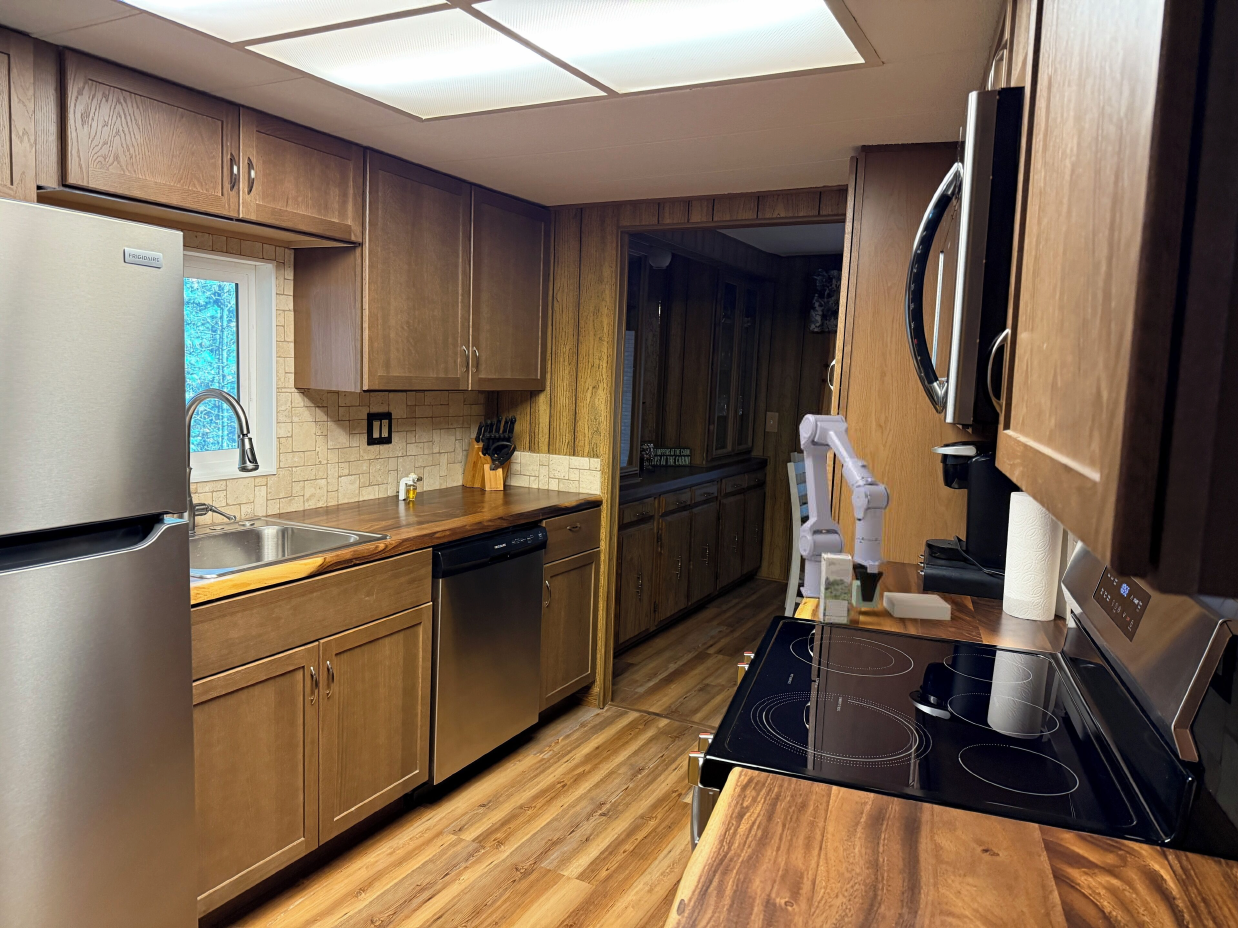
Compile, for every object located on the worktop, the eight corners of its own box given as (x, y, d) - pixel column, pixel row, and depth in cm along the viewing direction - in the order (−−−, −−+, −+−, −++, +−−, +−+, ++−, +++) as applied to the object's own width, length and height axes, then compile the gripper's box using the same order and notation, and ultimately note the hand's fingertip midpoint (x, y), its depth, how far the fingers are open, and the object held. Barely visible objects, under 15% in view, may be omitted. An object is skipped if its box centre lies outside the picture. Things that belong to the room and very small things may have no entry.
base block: (883, 604, 200) (883, 592, 200) (936, 607, 199) (936, 594, 199) (894, 616, 188) (894, 603, 188) (950, 620, 187) (951, 606, 187)
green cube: (851, 601, 193) (852, 580, 193) (874, 603, 193) (875, 581, 193) (855, 606, 189) (856, 584, 188) (878, 608, 188) (879, 586, 188)
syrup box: (845, 618, 185) (848, 552, 184) (849, 625, 180) (853, 557, 179) (818, 617, 186) (821, 551, 185) (822, 623, 180) (825, 556, 179)
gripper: (893, 544, 182) (890, 607, 183) (880, 534, 196) (877, 592, 197) (859, 542, 183) (856, 605, 184) (849, 532, 197) (846, 590, 198)
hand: (865, 598), depth 191 cm, fingers closed on green cube, 5 cm apart
